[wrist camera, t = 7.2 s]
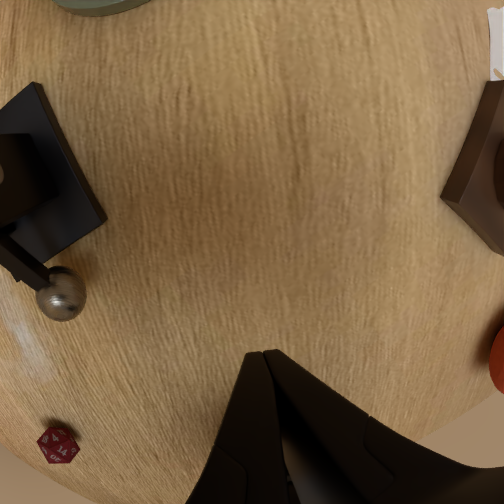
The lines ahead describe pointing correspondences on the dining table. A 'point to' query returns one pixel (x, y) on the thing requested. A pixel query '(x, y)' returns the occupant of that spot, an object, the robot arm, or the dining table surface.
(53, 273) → the lever
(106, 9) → the lamp
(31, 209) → the switch bracket
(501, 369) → the tomato
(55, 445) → the dice
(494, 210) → the dimmer box
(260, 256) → the dining table surface
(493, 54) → the white flat sheet
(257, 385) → the robot arm
